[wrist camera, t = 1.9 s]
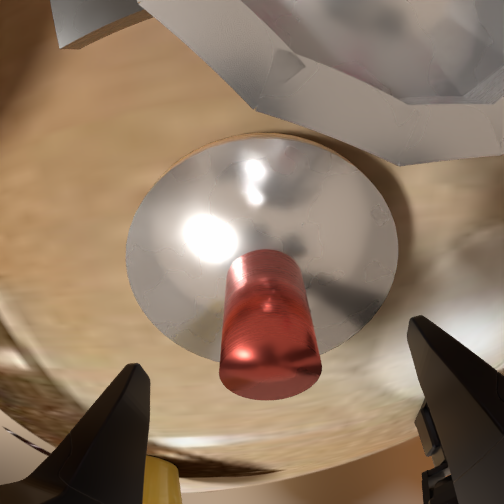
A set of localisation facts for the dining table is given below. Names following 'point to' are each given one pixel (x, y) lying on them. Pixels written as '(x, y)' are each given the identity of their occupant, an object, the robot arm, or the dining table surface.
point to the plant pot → (161, 482)
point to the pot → (341, 64)
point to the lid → (262, 258)
